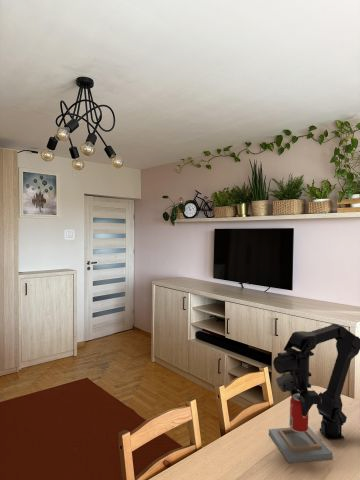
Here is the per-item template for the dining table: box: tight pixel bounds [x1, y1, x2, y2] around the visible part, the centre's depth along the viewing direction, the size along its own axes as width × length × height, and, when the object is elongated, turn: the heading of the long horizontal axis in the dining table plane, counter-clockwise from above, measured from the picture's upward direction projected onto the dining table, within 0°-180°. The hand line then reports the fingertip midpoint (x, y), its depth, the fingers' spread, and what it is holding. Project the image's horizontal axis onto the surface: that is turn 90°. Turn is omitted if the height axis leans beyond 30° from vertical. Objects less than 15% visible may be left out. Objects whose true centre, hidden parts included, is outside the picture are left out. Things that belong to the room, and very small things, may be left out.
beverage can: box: [289, 394, 310, 433], centre depth 124 cm, size 6×6×12 cm
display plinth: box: [268, 426, 333, 464], centre depth 124 cm, size 16×16×3 cm
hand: (299, 410), depth 124 cm, fingers closed on beverage can, 6 cm apart
